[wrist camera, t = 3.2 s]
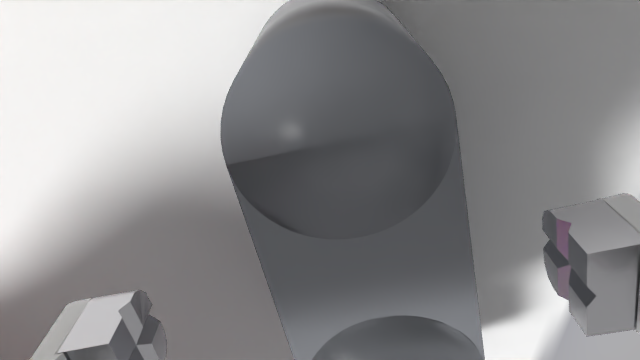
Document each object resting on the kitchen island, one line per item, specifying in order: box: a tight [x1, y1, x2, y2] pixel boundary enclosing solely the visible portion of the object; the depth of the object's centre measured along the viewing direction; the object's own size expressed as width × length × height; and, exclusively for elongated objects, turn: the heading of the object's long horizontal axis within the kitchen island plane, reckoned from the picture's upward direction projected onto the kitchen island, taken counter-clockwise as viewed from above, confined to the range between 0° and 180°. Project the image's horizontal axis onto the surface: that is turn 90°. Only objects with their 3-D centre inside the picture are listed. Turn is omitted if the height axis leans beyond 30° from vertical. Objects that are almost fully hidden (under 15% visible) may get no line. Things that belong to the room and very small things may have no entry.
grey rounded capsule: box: [221, 0, 485, 360], centre depth 12 cm, size 4×12×4 cm, turn 13°
